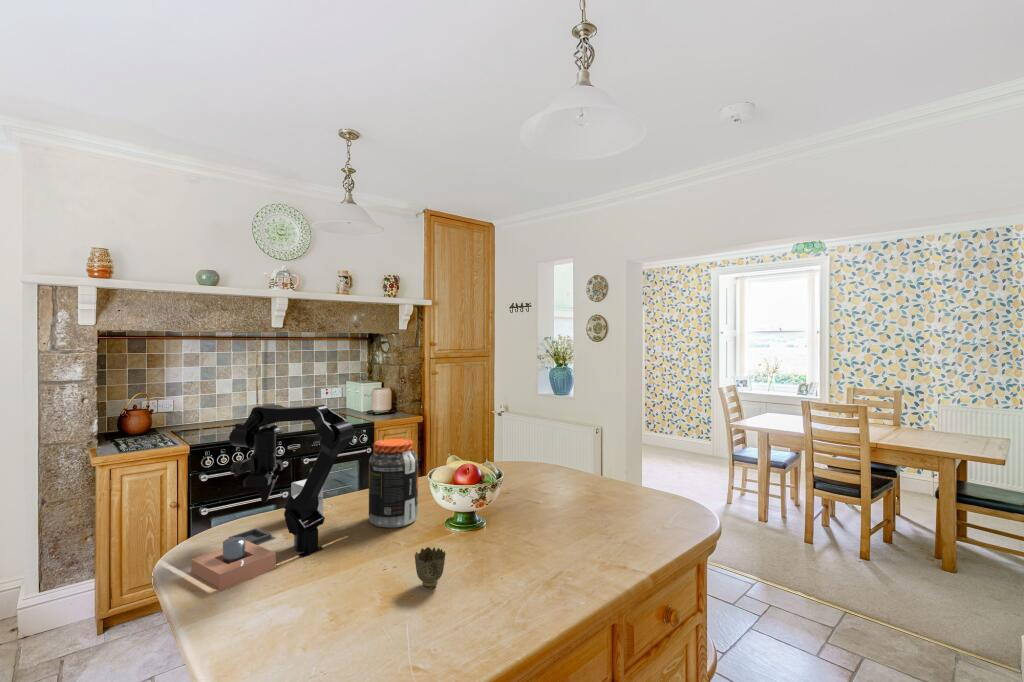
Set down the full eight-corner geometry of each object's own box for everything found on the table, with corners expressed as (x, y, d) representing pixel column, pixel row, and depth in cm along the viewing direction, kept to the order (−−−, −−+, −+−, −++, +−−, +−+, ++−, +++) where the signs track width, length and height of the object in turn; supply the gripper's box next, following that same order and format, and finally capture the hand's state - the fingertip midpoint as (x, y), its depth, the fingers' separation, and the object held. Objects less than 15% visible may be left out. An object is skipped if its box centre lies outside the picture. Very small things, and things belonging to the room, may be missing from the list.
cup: (431, 596, 117) (431, 562, 117) (407, 588, 121) (408, 555, 121) (451, 583, 124) (451, 551, 123) (428, 575, 127) (428, 544, 127)
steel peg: (247, 566, 131) (247, 536, 131) (241, 575, 126) (241, 544, 126) (226, 568, 130) (226, 537, 130) (219, 577, 125) (219, 545, 125)
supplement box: (302, 526, 159) (302, 486, 158) (290, 520, 163) (290, 482, 163) (323, 519, 165) (323, 481, 164) (311, 514, 169) (311, 477, 169)
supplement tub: (425, 523, 162) (426, 443, 162) (378, 533, 154) (378, 449, 153) (406, 508, 176) (407, 435, 175) (361, 517, 167) (362, 440, 166)
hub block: (275, 568, 130) (275, 553, 130) (219, 591, 119) (220, 574, 119) (246, 554, 138) (246, 540, 138) (191, 575, 126) (191, 559, 126)
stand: (276, 540, 147) (276, 534, 147) (242, 553, 139) (242, 545, 139) (257, 533, 153) (257, 526, 153) (223, 544, 145) (223, 537, 144)
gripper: (244, 442, 153) (244, 493, 153) (222, 457, 134) (222, 515, 134) (284, 441, 155) (283, 491, 155) (267, 456, 137) (267, 513, 137)
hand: (264, 502), depth 145 cm, fingers closed
